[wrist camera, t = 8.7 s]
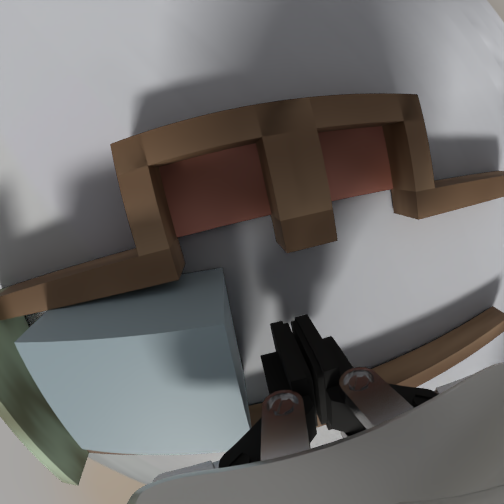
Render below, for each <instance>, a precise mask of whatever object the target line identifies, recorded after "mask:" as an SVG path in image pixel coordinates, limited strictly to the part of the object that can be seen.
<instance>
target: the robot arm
mask: <svg viewBox="0 0 504 504" xmlns="http://www.w3.org/2000/svg"><path fill="white" fill-rule="evenodd" d="M270 326H271V331H272V335H273V340H274V344H275V349H276V352H273V353H269V354H265V355H261V360H262V364H263V368H264V373H265V377H266V381H267V385H268V389H269V394H270V395H269V396H267V397H266V398H265V400H264V401H263V404H262V417H261V418H260V419H259V420H258V421H257V422H256V423H255V424H254V426H253V427H252V428H251V429H250V430H249V431H248V432H247V433H246V434H245V435H244V436H243V437H242V438H241V439H240V440H239V441H238V442H237V443H236V444H235V445H234V446H232V447H231V448H230V449H229V450H228V451H227V452H226V453H225V454H224V455H223V456H222V458H221V459H220V461H216V462H213V463H212V461H208V462H204V463H201V464H197V465H193V466H190V467H186V468H182V469H178V470H174V471H169V472H165V473H162V474H159V475H158V476H157V477H156V478H154V480H153V482H152V483H149V484H147V485H145V486H143V487H142V488H140V489H138V490H137V491H136V492H135V493H134V494H133V495H132V496H131V498H130V499H129V501H128V503H127V504H504V362H502V363H498V364H495V365H492V366H490V367H487V368H485V369H483V370H481V371H479V372H477V373H475V374H473V375H470V376H468V377H465V378H462V379H460V380H457V381H454V382H452V383H449V384H446V385H443V386H440V387H437V388H436V390H435V391H432V390H428V389H423V388H415V387H408V386H401V385H394V384H388V383H387V382H385V381H384V380H383V379H382V378H381V377H380V376H379V375H378V374H377V373H376V372H375V371H373V370H372V369H369V368H366V367H357V368H353V367H352V365H351V364H350V362H349V361H348V359H347V358H346V356H345V355H344V353H343V352H342V350H341V349H340V347H339V346H338V344H337V343H336V342H335V340H334V339H333V337H331V336H330V337H327V338H323V339H322V338H321V336H320V334H319V333H318V331H317V330H316V328H315V326H314V325H313V323H312V321H311V320H310V318H309V317H308V315H307V314H305V315H302V316H298V317H295V321H292V322H291V326H292V331H291V329H290V327H289V324H288V323H284V324H283V321H279V322H275V323H271V324H270ZM292 332H293V333H292ZM317 416H318V418H319V420H320V423H321V425H323V424H326V425H327V428H328V430H331V429H335V430H339V431H341V435H342V437H343V439H340V440H337V441H334V442H331V443H328V444H325V445H322V446H318V447H315V448H312V449H311V448H310V442H311V441H312V440H313V438H314V437H315V436H316V434H317V431H316V427H317V426H318V421H317Z"/></svg>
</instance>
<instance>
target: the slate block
mask: <svg viewBox="0 0 504 504" xmlns="http://www.w3.org/2000/svg"><path fill="white" fill-rule="evenodd" d="M14 343H15V345H16V348H17V350H18V352H19V354H20V356H21V358H22V359H23V361H24V363H25V365H26V367H27V369H28V371H29V373H30V374H31V376H32V378H33V380H34V381H35V383H36V385H37V386H38V388H39V390H40V391H41V393H42V395H43V396H44V398H45V399H46V401H47V402H48V404H49V405H50V407H51V408H52V410H53V411H54V413H55V414H56V416H57V417H58V419H59V420H60V421H61V423H62V424H63V425H64V427H65V428H66V429H67V431H68V432H69V433H70V435H71V436H72V437H73V439H74V440H75V441H76V442H77V444H78V445H79V446H80V447H81V448H82V449H85V450H93V451H101V452H110V453H122V454H138V455H188V454H205V453H217V452H227V451H228V450H229V449H230V448H231V447H232V446H234V445H235V444H236V443H237V442H238V441H239V440H240V439H241V438H242V437H243V436H244V435H245V434H246V433H247V432H248V431H249V430H250V429H251V428H252V427H251V420H250V413H249V407H248V400H247V393H246V386H245V379H244V373H243V368H242V364H241V359H240V354H239V350H238V345H237V340H236V335H235V330H234V325H233V320H232V315H231V310H230V305H229V300H228V295H227V290H226V285H225V279H224V274H223V269H222V268H218V269H212V270H206V271H200V272H194V273H188V274H181V276H180V279H179V280H176V281H172V282H167V283H163V284H159V285H155V286H151V287H146V288H142V289H138V290H134V291H129V292H125V293H121V294H116V295H112V296H108V297H103V298H99V299H95V300H90V301H86V302H82V303H77V304H73V305H69V306H64V307H60V308H55V309H51V310H48V311H46V312H45V313H44V314H43V315H42V316H41V317H40V318H39V319H38V320H37V321H36V322H35V323H34V324H33V325H31V326H30V327H29V328H28V329H27V330H26V331H25V332H24V333H23V334H22V335H21V336H20V337H19V338H18V339H17V340H16V341H15V342H14Z"/></svg>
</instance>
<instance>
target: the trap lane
mask: <svg viewBox="0 0 504 504" xmlns="http://www.w3.org/2000/svg"><path fill="white" fill-rule="evenodd" d="M110 145H111V150H112V155H113V160H114V165H115V170H116V174H117V178H118V183H119V187H120V191H121V195H122V199H123V203H124V207H125V211H126V214H127V218H128V222H129V225H130V229H131V232H132V235H133V239H134V242H135V245H136V248H134V249H131V250H127V251H123V252H120V253H116V254H113V255H109V256H106V257H102V258H99V259H96V260H92V261H89V262H85V263H82V264H79V265H75V266H72V267H69V268H65V269H62V270H59V271H56V272H52V273H49V274H46V275H43V276H40V277H37V278H33V279H30V280H27V281H24V282H21V283H18V284H15V285H12V286H9V287H6V288H3V289H0V417H1V418H2V419H3V420H4V422H5V423H6V424H7V425H8V427H9V428H10V429H11V430H12V432H13V433H14V434H15V435H16V436H17V437H18V438H19V440H20V441H21V442H22V443H23V444H24V445H25V446H26V447H27V449H28V450H29V451H30V452H31V453H32V454H33V455H34V456H35V457H36V458H37V459H38V460H39V461H40V462H41V463H42V464H43V465H44V466H45V467H46V468H47V469H48V470H50V471H51V472H52V473H53V474H54V475H55V476H56V477H57V478H58V479H59V480H61V481H62V482H64V483H68V484H73V485H79V481H80V478H81V475H82V472H83V469H84V466H85V463H86V460H87V457H88V454H89V453H100V454H119V455H138V454H122V453H110V452H101V451H93V450H85V449H82V448H81V447H80V446H79V445H78V444H77V442H76V441H75V440H74V439H73V437H72V436H71V435H70V433H69V432H68V431H67V429H66V428H65V427H64V425H63V424H62V423H61V421H60V420H59V419H58V417H57V416H56V414H55V413H54V411H53V410H52V408H51V407H50V405H49V404H48V402H47V401H46V399H45V398H44V396H43V395H42V393H41V391H40V390H39V388H38V386H37V385H36V383H35V381H34V380H33V378H32V376H31V374H30V373H29V371H28V369H27V367H26V365H25V363H24V361H23V359H22V358H21V356H20V354H19V352H18V350H17V348H16V345H15V343H14V342H15V341H16V340H17V339H18V338H19V337H20V336H21V335H22V334H23V333H24V332H25V331H26V330H27V329H28V328H29V326H28V324H27V322H26V319H25V317H24V315H28V314H33V313H37V312H42V311H46V310H51V309H55V308H60V307H64V306H69V305H73V304H77V303H82V302H86V301H90V300H95V299H99V298H103V297H108V296H112V295H116V294H121V293H125V292H129V291H134V290H138V289H142V288H146V287H151V286H155V285H159V284H163V283H167V282H172V281H176V280H179V279H180V276H181V273H182V271H183V268H184V266H185V261H184V257H183V254H182V250H181V247H180V243H179V240H178V237H182V236H186V235H190V234H194V233H197V232H201V231H205V230H209V229H213V228H217V227H221V226H225V225H230V224H234V223H238V222H242V221H246V220H250V219H254V218H259V217H263V216H267V215H271V218H272V223H273V227H274V232H275V237H276V241H277V243H278V244H279V245H280V246H281V247H282V248H283V249H284V251H285V252H286V253H290V252H294V251H298V250H302V249H306V248H310V247H314V246H318V245H322V244H326V243H330V242H334V241H338V240H337V233H336V226H335V220H334V214H333V207H332V201H335V200H340V199H345V198H349V197H354V196H359V195H364V194H369V193H374V192H379V191H385V190H390V189H391V193H392V200H393V209H394V213H396V214H400V215H404V216H407V217H411V218H415V219H418V220H419V219H423V218H426V217H430V216H434V215H438V214H441V213H445V212H449V211H453V210H456V209H460V208H464V207H467V206H471V205H475V204H479V203H482V202H486V201H490V200H493V199H497V198H500V197H504V171H492V172H486V173H479V174H472V175H466V176H460V177H454V178H448V179H442V180H436V181H434V176H433V168H432V161H431V155H430V149H429V143H428V138H427V133H426V128H425V123H424V119H423V114H422V110H421V106H420V102H419V98H418V95H417V94H344V95H329V96H316V97H306V98H297V99H289V100H281V101H274V102H268V103H262V104H256V105H250V106H244V107H239V108H234V109H229V110H225V111H220V112H215V113H211V114H207V115H203V116H199V117H195V118H191V119H187V120H183V121H180V122H176V123H172V124H169V125H166V126H162V127H159V128H156V129H153V130H149V131H146V132H143V133H140V134H137V135H134V136H131V137H129V138H126V139H123V140H120V141H118V142H115V143H112V144H110ZM502 332H504V313H503V312H501V311H500V310H498V309H496V308H495V307H493V306H492V307H491V308H489V309H487V310H486V311H484V312H483V313H481V314H480V315H478V316H476V317H475V318H473V319H471V320H470V321H468V322H466V323H465V324H463V325H461V326H460V327H458V328H456V329H454V330H452V331H451V332H449V333H447V334H445V335H443V336H441V337H439V338H438V339H436V340H434V341H432V342H430V343H428V344H426V345H424V346H422V347H420V348H418V349H416V350H413V351H411V352H409V353H407V354H405V355H403V356H400V357H398V358H396V359H394V360H391V361H389V362H387V363H384V364H382V365H380V366H377V367H375V368H372V370H373V371H375V372H376V373H377V374H378V375H379V376H380V377H381V378H382V379H383V380H384V381H385V382H387V383H388V384H394V385H401V386H408V387H417V386H419V385H421V384H423V383H425V382H427V381H429V380H430V379H432V378H434V377H436V376H438V375H439V374H441V373H443V372H445V371H446V370H448V369H450V368H451V367H453V366H455V365H456V364H458V363H459V362H461V361H463V360H464V359H466V358H467V357H469V356H470V355H472V354H473V353H475V352H476V351H478V350H479V349H481V348H482V347H483V346H485V345H486V344H488V343H489V342H490V341H492V340H493V339H494V338H496V337H497V336H498V335H500V334H501V333H502ZM262 404H263V403H260V404H255V405H250V406H248V407H249V413H250V420H251V427H253V426H254V424H255V423H256V422H257V421H258V420H259V419H260V418H261V417H262ZM317 421H318V426H317V427H320V426H323V425H326V424H323V425H321V423H320V420H319V418H318V416H317ZM317 427H316V428H317Z"/></svg>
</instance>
